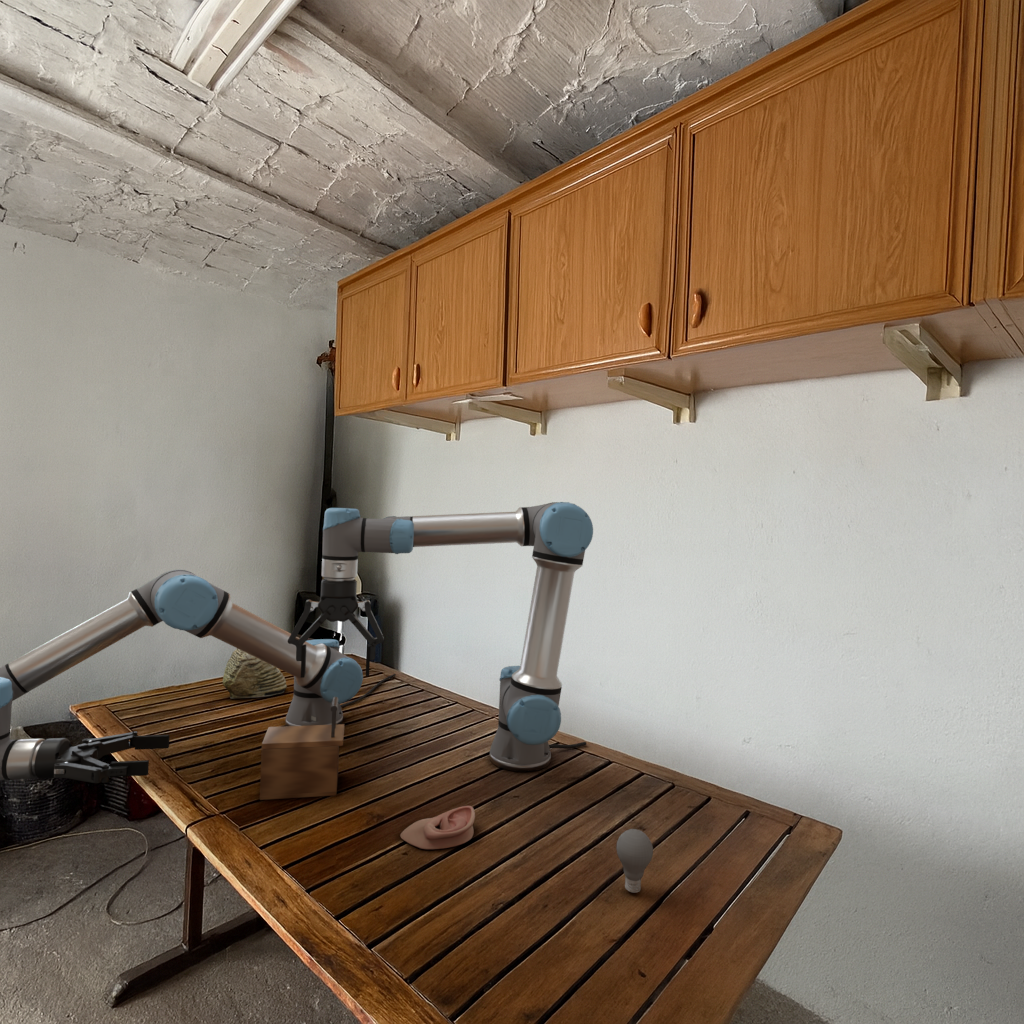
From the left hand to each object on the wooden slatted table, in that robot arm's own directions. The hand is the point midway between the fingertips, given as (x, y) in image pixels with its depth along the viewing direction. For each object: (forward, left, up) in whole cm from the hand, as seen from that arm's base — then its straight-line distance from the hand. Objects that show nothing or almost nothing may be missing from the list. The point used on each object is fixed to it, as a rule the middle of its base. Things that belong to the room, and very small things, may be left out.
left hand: (159, 754), depth 131 cm
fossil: (-48, -48, -9) cm, 68 cm away
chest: (-22, +17, -9) cm, 30 cm away
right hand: (-27, +21, +16) cm, 38 cm away
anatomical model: (-29, +53, -9) cm, 61 cm away
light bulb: (-39, +89, -9) cm, 97 cm away
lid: (-23, +18, +2) cm, 29 cm away
